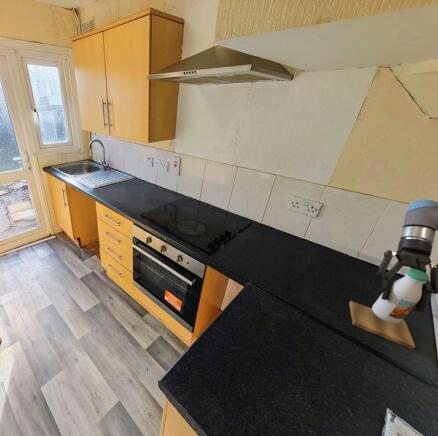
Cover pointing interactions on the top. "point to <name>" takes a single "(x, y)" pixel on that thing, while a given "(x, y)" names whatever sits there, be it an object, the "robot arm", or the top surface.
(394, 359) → the top surface
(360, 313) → the chopping board
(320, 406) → the top surface
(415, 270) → the milk bottle
